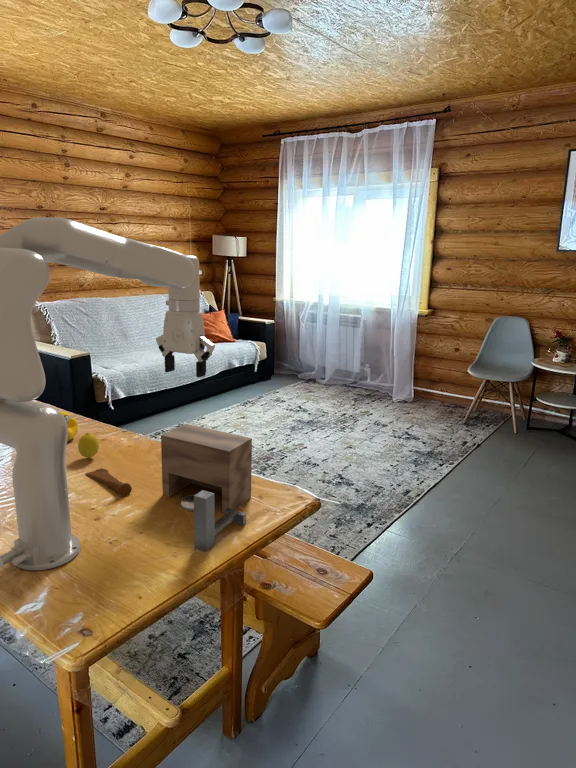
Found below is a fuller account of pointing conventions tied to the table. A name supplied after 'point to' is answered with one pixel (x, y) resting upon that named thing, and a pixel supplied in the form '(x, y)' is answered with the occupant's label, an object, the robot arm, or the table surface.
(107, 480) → the primitive tool
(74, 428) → the duckling
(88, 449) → the lemon
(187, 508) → the steel token
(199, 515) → the hoe
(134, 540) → the table surface
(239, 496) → the wooden bridge block
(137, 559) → the table surface
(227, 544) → the table surface
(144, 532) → the table surface
